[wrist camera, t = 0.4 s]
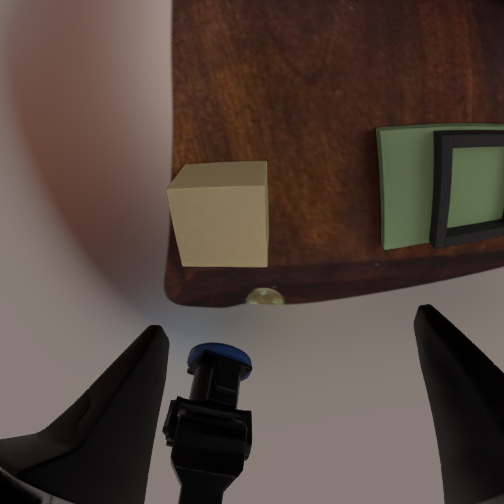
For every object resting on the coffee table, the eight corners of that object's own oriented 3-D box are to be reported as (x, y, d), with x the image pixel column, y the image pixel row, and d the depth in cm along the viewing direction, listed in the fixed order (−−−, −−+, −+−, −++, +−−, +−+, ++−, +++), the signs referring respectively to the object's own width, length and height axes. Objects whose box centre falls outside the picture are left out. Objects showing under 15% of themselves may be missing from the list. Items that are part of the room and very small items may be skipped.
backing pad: (380, 243, 24) (388, 260, 22) (375, 127, 18) (385, 135, 16) (526, 218, 20) (538, 230, 18) (538, 126, 14) (554, 134, 13)
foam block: (268, 231, 24) (267, 267, 20) (196, 232, 24) (182, 266, 21) (267, 160, 20) (264, 185, 17) (185, 164, 21) (165, 189, 17)
